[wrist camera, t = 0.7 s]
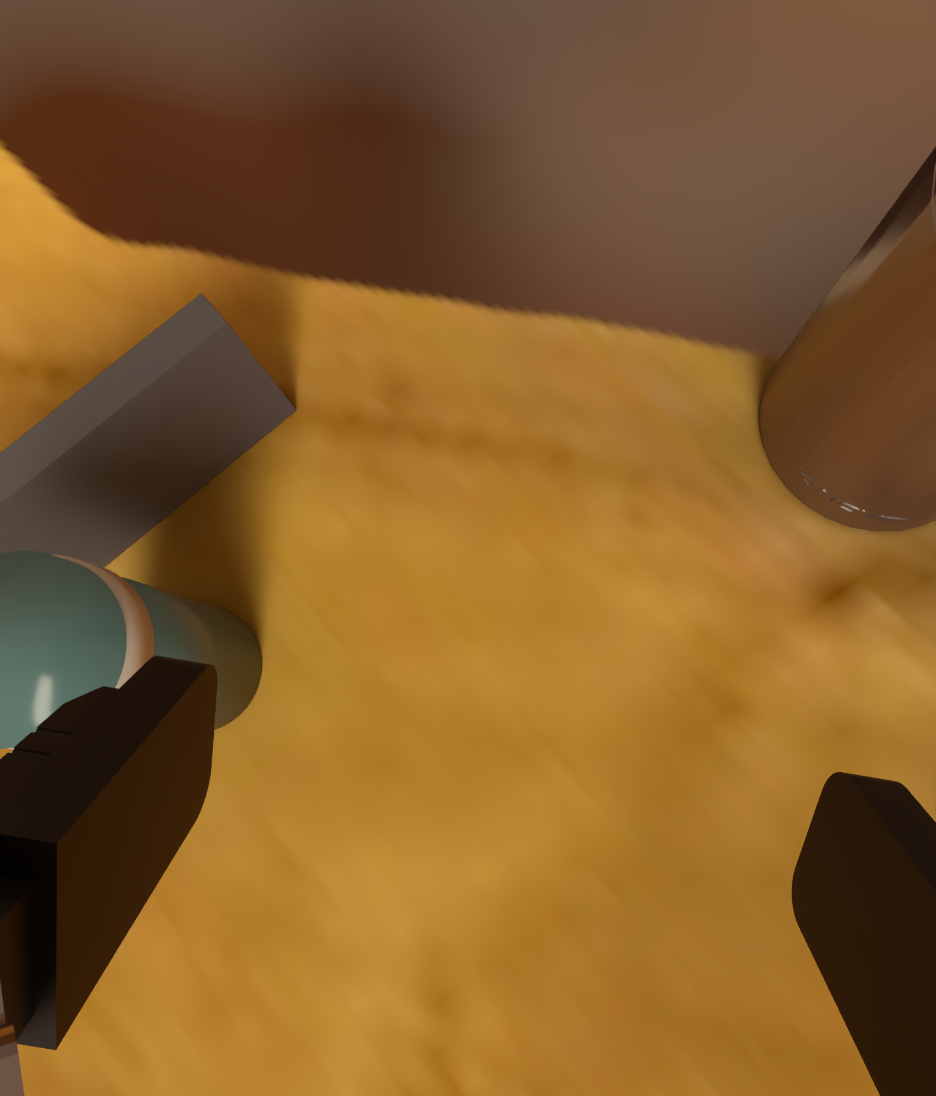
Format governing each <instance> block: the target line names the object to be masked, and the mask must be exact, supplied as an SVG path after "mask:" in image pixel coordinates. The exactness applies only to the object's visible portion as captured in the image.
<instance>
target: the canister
mask: <svg viewBox="0 0 936 1096" xmlns="http://www.w3.org/2000/svg"><path fill="white" fill-rule="evenodd" d="M153 656H163V657H169V658H175V659H181V660H187V661H193V662H199V663H205V664H211V665H214V666H215V668H216V671H217V679H218V683H217V698H216V712H215V725H214V730H215V729H218V728H221V727H223V726H225V725H227V724H228V723H230V722H231V721H233V720H234V719H236V718H237V717H238V716H239V715H240V714H241V713H242V712H243V711H244V710H245V709H246V708H247V707H248V705H249V704H250V702H251V701H252V699H253V697H254V695H255V693H256V691H257V689H258V686H259V683H260V679H261V673H262V657H261V650H260V647H259V643H258V641H257V639H256V637H255V635H254V633H253V632H252V630H251V629H250V627H249V626H248V625H247V624H246V623H245V622H244V621H243V620H242V619H241V618H240V617H238V616H237V615H235V614H234V613H232V612H230V611H228V610H225V609H222V608H219V607H216V606H212V605H209V604H206V603H203V602H200V601H197V600H193V599H190V598H187V597H184V596H181V595H177V594H174V593H171V592H168V591H165V590H161V589H158V588H155V587H152V586H149V585H146V584H142V583H139V582H136V581H133V580H130V579H126V578H123V577H120V576H119V575H117V574H116V573H114V572H112V571H110V570H108V569H105V568H102V567H99V566H96V565H93V564H90V563H87V562H84V561H81V560H78V559H75V558H71V557H68V556H62V555H54V554H47V553H42V552H36V551H15V552H8V553H4V554H0V749H4V748H8V749H13V750H14V747H15V746H16V745H17V744H18V743H19V742H20V741H22V740H23V739H24V738H25V737H26V736H27V735H28V734H30V733H31V732H36V729H37V727H38V726H39V725H40V724H41V723H42V722H43V721H44V720H45V719H47V718H48V717H49V716H50V715H51V714H52V713H53V712H55V711H56V710H57V709H58V708H59V707H60V706H61V705H63V704H64V703H66V702H68V701H70V700H72V699H75V698H77V697H79V696H82V695H84V694H86V693H88V692H91V691H93V690H95V689H97V688H100V687H102V686H106V687H112V688H118V689H119V688H120V687H121V686H122V685H123V684H124V683H125V682H126V681H127V680H128V679H129V678H131V677H132V676H133V675H134V674H135V673H136V672H137V671H138V670H139V669H140V668H141V667H142V666H143V665H144V664H145V663H146V662H147V661H148V660H149V659H150V658H152V657H153Z"/></svg>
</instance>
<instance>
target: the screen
mask: <svg viewBox="0 0 936 1096" xmlns="http://www.w3.org/2000/svg"><path fill="white" fill-rule="evenodd" d="M295 411H296V409H295V408H294V406H293V405H292V404H291V403H290V401H289V400H288V399H287V398H286V396H285V395H284V394H283V393H282V391H281V390H280V389H279V388H278V386H277V385H276V384H275V382H274V381H273V380H272V379H271V377H270V376H269V375H268V374H267V372H266V371H265V370H264V369H263V367H262V366H261V365H260V364H259V362H258V361H257V360H256V358H255V357H254V356H253V355H252V353H251V352H250V351H249V350H248V348H247V347H246V346H245V345H244V343H243V342H242V341H241V340H240V338H239V337H238V336H237V334H236V333H235V332H234V331H233V329H232V328H231V327H230V326H229V324H228V323H227V322H226V321H225V320H224V318H223V317H222V316H221V315H220V314H219V313H218V311H217V310H216V309H215V308H214V307H213V306H212V304H211V303H210V302H209V301H208V300H207V299H206V298H205V296H204V295H203V294H202V293H201V294H200V295H198V296H197V297H196V298H195V299H193V300H192V301H191V302H190V303H188V304H187V305H186V306H185V307H183V308H182V309H181V310H180V311H178V312H177V313H176V314H175V315H173V316H172V317H171V318H170V319H168V320H167V321H166V322H165V323H163V324H162V325H161V326H159V327H158V328H157V329H156V330H154V331H153V332H152V333H151V334H149V335H148V336H147V337H146V338H144V339H143V340H142V341H141V342H139V343H138V344H137V345H136V346H134V347H133V348H132V349H131V350H129V351H128V352H127V353H126V354H124V355H123V356H122V357H121V358H119V359H118V360H117V361H115V362H114V363H113V364H112V365H110V366H109V367H108V368H107V369H105V370H104V371H103V372H102V373H100V374H99V375H98V376H97V377H95V378H94V379H93V380H92V381H90V382H89V383H88V384H87V385H85V386H84V387H83V388H82V389H80V390H79V391H78V392H77V393H75V394H74V395H73V396H71V397H70V398H69V399H68V400H66V401H65V402H64V403H63V404H61V405H60V406H59V407H58V408H56V409H55V410H54V411H53V412H51V413H50V414H49V415H48V416H46V417H45V418H44V419H43V420H41V421H40V422H39V423H38V424H36V425H35V426H34V427H33V428H31V429H30V430H29V431H27V432H26V433H25V434H24V435H22V436H21V437H20V438H19V439H17V440H16V441H15V442H14V443H12V444H11V445H10V446H9V447H7V448H6V449H5V450H4V451H2V452H1V453H0V554H4V553H8V552H15V551H36V552H42V553H47V554H54V555H62V556H68V557H71V558H75V559H78V560H81V561H84V562H87V563H90V564H93V565H96V566H99V567H102V568H104V567H105V566H107V565H108V564H109V563H110V562H111V561H113V560H114V559H115V558H116V557H118V556H119V555H120V554H121V553H122V552H124V551H125V550H126V549H127V548H129V547H130V546H131V545H132V544H133V543H135V542H136V541H137V540H138V539H140V538H141V537H142V536H143V535H144V534H146V533H147V532H148V531H149V530H151V529H152V528H153V527H154V526H155V525H157V524H158V523H159V522H160V521H162V520H163V519H164V518H165V517H166V516H168V515H169V514H170V513H171V512H173V511H174V510H175V509H176V508H177V507H179V506H180V505H181V504H182V503H184V502H185V501H186V500H187V499H188V498H190V497H191V496H192V495H193V494H195V493H196V492H197V491H198V490H199V489H201V488H202V487H203V486H204V485H206V484H207V483H208V482H209V481H210V480H212V479H213V478H214V477H215V476H217V475H218V474H219V473H220V472H221V471H223V470H224V469H225V468H226V467H228V466H229V465H230V464H231V463H232V462H234V461H235V460H236V459H237V458H239V457H240V456H241V455H242V454H243V453H245V452H246V451H247V450H248V449H250V448H251V447H252V446H253V445H254V444H256V443H257V442H258V441H259V440H261V439H262V438H263V437H264V436H265V435H267V434H268V433H269V432H270V431H272V430H273V429H274V428H275V427H276V426H278V425H279V424H280V423H281V422H283V421H284V420H285V419H286V418H287V417H289V416H290V415H291V414H292V413H294V412H295Z"/></svg>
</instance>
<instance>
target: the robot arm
mask: <svg viewBox="0 0 936 1096" xmlns="http://www.w3.org/2000/svg"><path fill="white" fill-rule="evenodd" d="M760 430H761V435H762V440H763V445H764V449H765V451H766V453H767V456H768V458H769V460H770V463H771V465H772V467H773V469H774V471H775V472H776V473H777V475H778V476H779V478H780V479H781V480H782V482H783V483H784V485H785V486H786V487H787V489H788V490H790V491H791V492H792V493H793V494H794V495H795V496H796V497H797V498H798V499H799V500H800V501H801V502H802V503H803V504H805V505H806V506H808V507H809V508H811V509H812V510H814V511H816V512H817V513H819V514H820V515H822V516H824V517H825V518H827V519H830V520H833V521H835V522H838V523H841V524H843V525H846V526H848V527H852V528H858V529H864V530H870V531H901V530H906V529H910V528H914V527H918V526H923V525H926V524H928V523H930V522H932V521H934V520H936V147H935V148H934V150H933V151H932V152H931V154H930V155H929V157H928V158H927V159H926V161H925V162H924V163H923V165H922V166H921V168H920V169H919V170H918V172H917V173H916V175H915V176H914V177H913V178H912V180H911V181H910V182H909V184H908V185H907V187H906V188H905V189H904V191H903V192H902V193H901V195H900V196H899V198H898V199H897V200H896V202H895V203H894V204H893V206H892V207H891V208H890V210H889V211H888V213H887V214H886V215H885V217H884V218H883V220H882V221H881V222H880V224H879V225H878V226H877V228H876V229H875V231H874V232H873V233H872V234H871V236H870V237H869V239H868V240H867V241H866V243H865V244H864V245H863V247H862V248H861V250H860V251H859V252H858V254H857V255H856V256H855V258H854V259H853V260H852V262H851V263H850V265H849V266H848V267H847V269H846V270H845V271H844V273H843V274H842V276H841V277H840V278H839V280H838V281H837V282H836V284H835V285H834V287H833V288H832V289H831V291H830V292H829V293H828V295H827V296H826V297H825V299H824V300H823V302H822V303H821V304H820V306H819V307H818V309H817V310H816V311H815V312H814V314H813V315H812V316H811V317H810V319H809V320H808V321H807V323H806V324H805V326H804V327H803V328H802V330H801V331H800V332H799V334H798V335H797V336H796V338H795V339H794V341H793V342H792V343H791V345H790V346H789V347H788V349H787V350H786V352H785V353H784V354H783V356H782V357H781V358H780V360H779V361H778V363H777V364H776V366H775V368H774V370H773V371H772V373H771V375H770V377H769V379H768V381H767V382H766V386H765V389H764V393H763V396H762V400H761V404H760ZM217 683H218V679H217V671H216V668H215V666H214V665H211V664H205V663H199V662H193V661H187V660H181V659H175V658H169V657H163V656H153V657H152V658H150V659H149V660H148V661H147V662H146V663H145V664H144V665H143V666H142V667H141V668H140V669H139V670H138V671H137V672H136V673H135V674H134V675H133V676H132V677H131V678H129V679H128V680H127V681H126V682H125V683H124V684H123V685H122V686H121V687H120V688H119V689H118V688H112V687H106V686H102V687H100V688H97V689H95V690H93V691H91V692H88V693H86V694H84V695H82V696H79V697H77V698H75V699H72V700H70V701H68V702H66V703H64V704H63V705H61V706H60V707H59V708H58V709H57V710H56V711H55V712H53V713H52V714H51V715H50V716H49V717H48V718H47V719H45V720H44V721H43V722H42V723H41V724H40V725H39V726H38V727H37V729H36V732H31V733H30V734H28V735H27V736H26V737H25V738H24V739H23V740H22V741H20V742H19V743H18V744H17V745H16V746H15V747H14V750H13V752H12V753H7V754H6V755H5V756H3V757H2V758H1V759H0V1096H24V1091H23V1084H22V1077H21V1070H20V1063H19V1056H18V1049H17V1044H22V1045H28V1046H34V1047H40V1048H46V1049H52V1050H56V1049H57V1047H58V1046H59V1044H60V1043H61V1041H62V1039H63V1038H64V1036H65V1034H66V1033H67V1031H68V1029H69V1028H70V1026H71V1025H72V1023H73V1021H74V1020H75V1018H76V1016H77V1015H78V1013H79V1011H80V1010H81V1008H82V1007H83V1005H84V1003H85V1002H86V1000H87V998H88V997H89V995H90V993H91V992H92V990H93V989H94V987H95V985H96V984H97V982H98V980H99V979H100V977H101V975H102V974H103V972H104V971H105V969H106V967H107V966H108V964H109V962H110V961H111V959H112V957H113V956H114V954H115V953H116V951H117V949H118V948H119V946H120V944H121V943H122V941H123V939H124V938H125V936H126V935H127V933H128V931H129V930H130V928H131V926H132V925H133V923H134V921H135V920H136V918H137V917H138V915H139V913H140V912H141V910H142V908H143V907H144V905H145V903H146V902H147V900H148V898H149V897H150V895H151V894H152V892H153V890H154V889H155V887H156V885H157V884H158V882H159V880H160V879H161V877H162V876H163V874H164V872H165V871H166V869H167V867H168V866H169V864H170V862H171V861H172V859H173V858H174V856H175V854H176V853H177V851H178V849H179V848H180V846H181V844H182V843H183V841H184V840H185V838H186V836H187V835H188V833H189V831H190V830H191V828H192V826H193V825H194V823H195V821H196V820H197V818H198V816H199V813H200V811H201V809H202V806H203V803H204V800H205V797H206V794H207V790H208V786H209V781H210V775H211V766H212V752H213V739H214V725H215V712H216V698H217ZM792 904H793V910H794V915H795V918H796V921H797V924H798V926H799V928H800V930H801V932H802V934H803V936H804V939H805V941H806V943H807V945H808V947H809V949H810V951H811V953H812V955H813V957H814V959H815V961H816V963H817V966H818V968H819V970H820V972H821V974H822V976H823V978H824V980H825V982H826V984H827V986H828V988H829V990H830V993H831V995H832V997H833V999H834V1001H835V1003H836V1005H837V1007H838V1009H839V1011H840V1013H841V1015H842V1017H843V1020H844V1022H845V1024H846V1026H847V1028H848V1030H849V1032H850V1034H851V1036H852V1038H853V1040H854V1042H855V1044H856V1047H857V1049H858V1051H859V1053H860V1055H861V1057H862V1059H863V1061H864V1063H865V1065H866V1067H867V1069H868V1071H869V1074H870V1076H871V1078H872V1080H873V1082H874V1084H875V1086H876V1088H877V1090H878V1092H879V1094H880V1096H936V822H935V821H934V820H933V819H932V818H931V816H930V815H929V814H928V813H927V812H926V811H925V809H924V808H923V807H922V806H921V805H920V803H919V802H918V801H917V800H916V799H915V798H914V796H913V795H912V794H911V793H910V792H909V791H908V789H907V788H906V787H905V786H904V785H902V784H901V783H899V782H896V781H890V780H884V779H879V778H873V777H867V776H861V775H855V774H849V773H843V772H836V773H834V774H832V775H831V776H830V777H829V778H828V780H827V781H826V783H825V785H824V787H823V789H822V792H821V795H820V798H819V801H818V804H817V807H816V809H815V812H814V815H813V818H812V821H811V824H810V827H809V830H808V833H807V835H806V838H805V841H804V844H803V847H802V850H801V853H800V856H799V859H798V861H797V864H796V867H795V871H794V875H793V881H792Z"/></svg>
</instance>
